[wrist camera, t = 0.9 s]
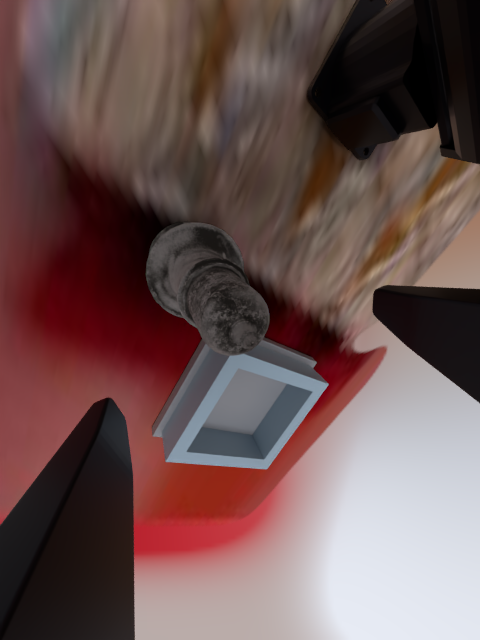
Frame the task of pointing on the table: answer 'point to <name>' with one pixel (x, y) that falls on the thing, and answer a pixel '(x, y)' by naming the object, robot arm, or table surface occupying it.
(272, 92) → the table surface
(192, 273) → the grey stone tall figure
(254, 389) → the holder
